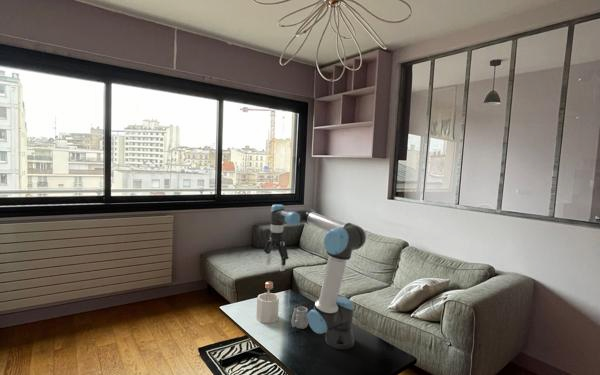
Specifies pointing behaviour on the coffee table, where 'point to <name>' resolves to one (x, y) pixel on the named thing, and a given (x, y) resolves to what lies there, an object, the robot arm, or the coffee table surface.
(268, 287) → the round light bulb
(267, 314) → the octagonal white cup
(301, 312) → the mug
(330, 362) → the coffee table surface
